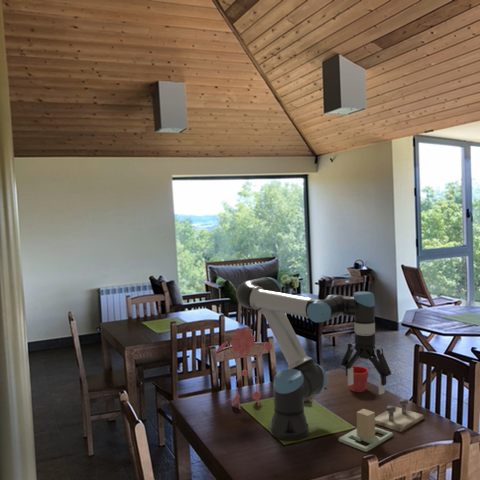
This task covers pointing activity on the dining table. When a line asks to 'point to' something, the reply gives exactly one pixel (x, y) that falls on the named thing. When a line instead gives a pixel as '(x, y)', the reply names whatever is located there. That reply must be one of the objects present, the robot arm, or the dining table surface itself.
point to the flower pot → (359, 379)
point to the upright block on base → (365, 432)
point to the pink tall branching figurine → (243, 344)
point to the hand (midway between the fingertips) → (365, 389)
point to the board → (398, 417)
